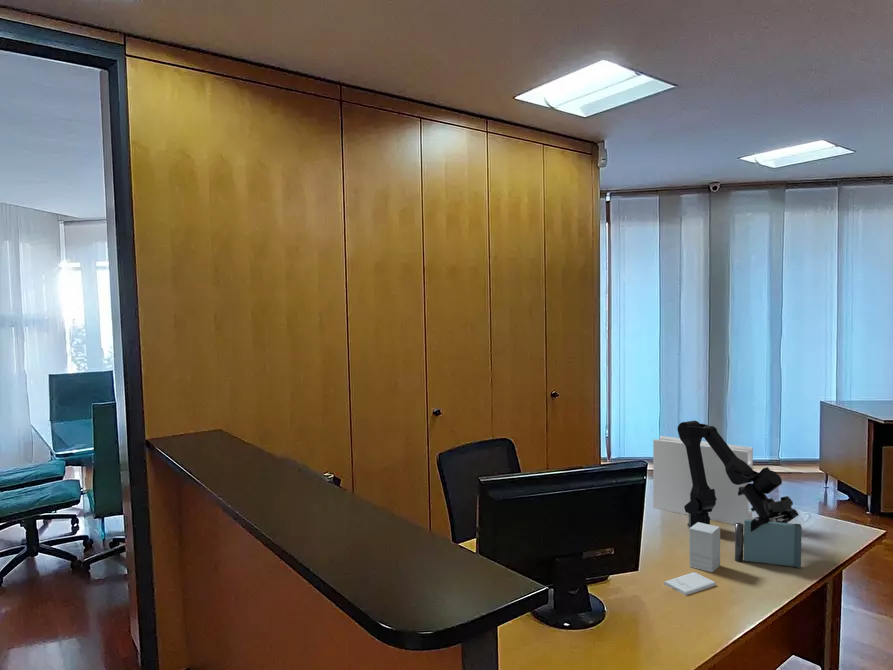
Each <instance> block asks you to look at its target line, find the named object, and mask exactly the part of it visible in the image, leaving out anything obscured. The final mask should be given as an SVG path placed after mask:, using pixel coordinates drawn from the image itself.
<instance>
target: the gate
mask: <svg viewBox="0 0 893 670" xmlns="http://www.w3.org/2000/svg"><path fill="white" fill-rule="evenodd" d="M752 520H753V519H752ZM752 520H747V519H744V526H743V562H744V561H745V562H752V563H753V562H754V563H760V564H761V563H763V564H771V565H772V564H773V565H778V566H787V567H794V568H800V569H801V568H802V533H803V532H802V531H803V530H802V529H803V528H802V527H803V526H802V525H801V524H799V523H789V522H788V523H779V522H768V523H767V524H764V525H761V526H760V527H758V528H757V529H756V530H754V531H752V532H751V522H752Z"/></svg>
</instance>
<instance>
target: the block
mask: <svg viewBox="0 0 893 670" xmlns="http://www.w3.org/2000/svg"><path fill="white" fill-rule="evenodd" d="M652 441H653V443H652V444H653V445H652V447H653V450H652V451H653V452H652V453H653V457H652V458H653V459H652V464H653V465H652V467H653V469H652V470H653V475H652V478H653V479H652V482H653V483H652V484H653V486H652V489H653V491H652V494H653V495H652V503H653V504H652V508H653V509H657V510H661V511H667V512H672V513H677V514H682V515H687V516H689V513H687V512H685V508H684V506H685V505H686V504H687V503H689V502H690V493H691V490H692V487H693V484H692V478H691V473H690V467H689V461H688V456H687V450H686V446H685V445H684V443H683V442H682V441H681V440H680V437H672V436H664V435H660V436H659V439H656V438H655V439H654V438H653V440H652ZM726 444H727V443H726ZM727 445H728V446H729V448H730V449H731V450H732V451H733V453H734V454H735V455H736V456H737V457H738V458H739V459H740V460H742V461H744V462H746V463H747V464H748V465H749V466H750V467H751V468H752V469H753V465H754V463H753V461H754V460H753V458H754V457H753V456H754V455H753V454H754V448H753V447H752V446H744V445H735V444H729V443H728V444H727ZM700 448H701V454H702V459H703V464H704V470H705V475H706V481H707V485H708V486H709V487H710V489H714V490H715V496H716V499H717V500H716V505H715V506H714V507H713V509H712V512H708V516H709V517H710V521H716V522H722V523H726V524H730V525H731V524H732V525H735V523H742V524H743V527H744V519H747V520H753V512H752V510H749V509H750V507H749V505H750V502H749V501H748V499H747V498H746V496H745V495H740V496H739V495H738V491H739V487H744V486H746V485H747V484H749V483H745V484H741V485H736V484H733V483H732V482H731V481H730V479H729V477H728V475H727V473H726V470H725V465H724V464H723V462H722V461H721V459H720V458H719V457H718V455H717V454H716V453H715V451H714V450H713V449H712V448H711V446H710V445H709V444H708V442H707V441H706V440H703V441H702V440H701V443H700ZM753 470H754V469H753Z"/></svg>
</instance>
